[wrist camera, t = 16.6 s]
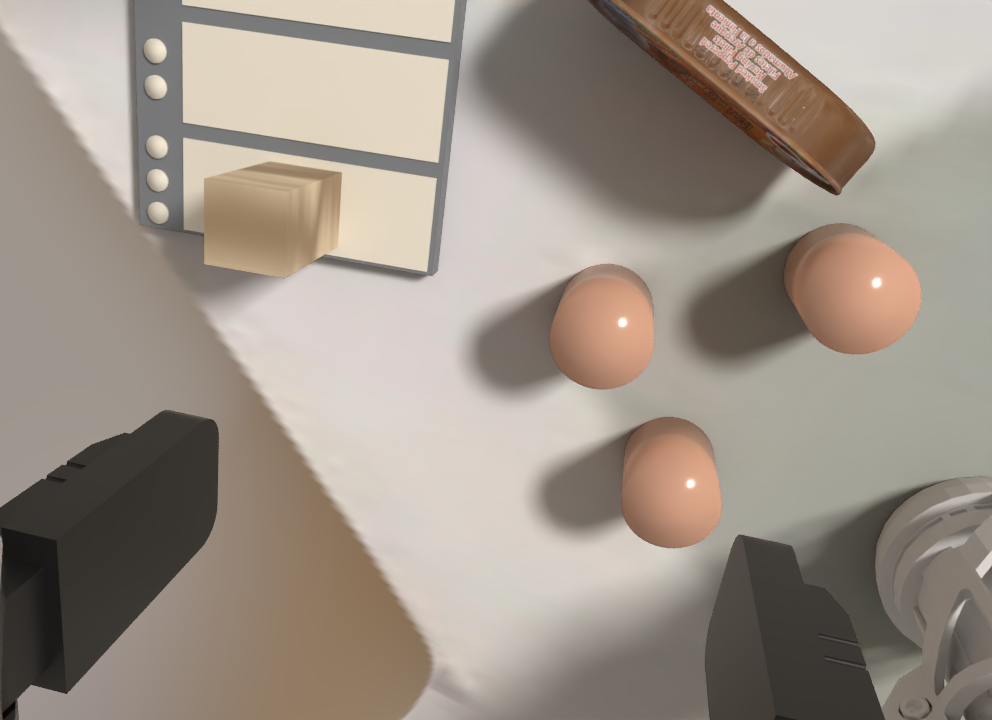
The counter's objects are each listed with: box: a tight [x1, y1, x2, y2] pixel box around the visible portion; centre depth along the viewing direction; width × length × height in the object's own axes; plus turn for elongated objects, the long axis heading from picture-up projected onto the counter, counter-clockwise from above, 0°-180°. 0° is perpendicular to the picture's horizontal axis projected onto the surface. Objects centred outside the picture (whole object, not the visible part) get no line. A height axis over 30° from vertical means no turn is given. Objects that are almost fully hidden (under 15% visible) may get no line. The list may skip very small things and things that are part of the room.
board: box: [134, 0, 467, 276], centre depth 43 cm, size 17×17×1 cm
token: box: [204, 161, 342, 278], centre depth 41 cm, size 4×4×7 cm
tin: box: [588, 0, 875, 195], centre depth 36 cm, size 15×3×8 cm, turn 53°
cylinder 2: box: [621, 417, 722, 548], centre depth 44 cm, size 5×5×6 cm
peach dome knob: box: [549, 264, 654, 389], centre depth 42 cm, size 5×5×6 cm
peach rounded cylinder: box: [784, 223, 921, 354], centre depth 39 cm, size 5×5×6 cm
